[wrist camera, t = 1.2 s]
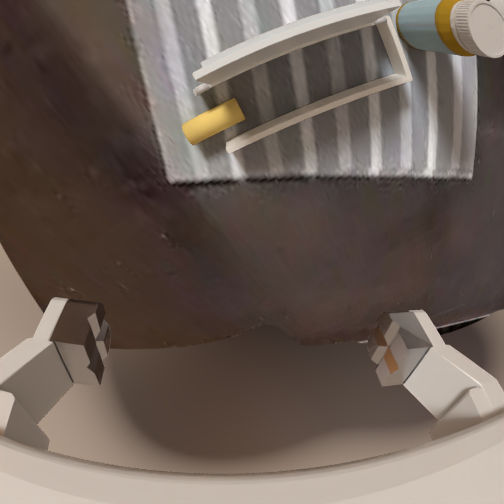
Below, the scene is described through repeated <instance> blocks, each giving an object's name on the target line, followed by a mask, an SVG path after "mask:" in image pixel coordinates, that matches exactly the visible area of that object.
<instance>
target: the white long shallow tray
mask: <svg viewBox="0 0 504 504" xmlns="http://www.w3.org/2000/svg"><path fill="white" fill-rule="evenodd" d="M373 25H376V26H377V28H378V31H379V33H380V36H381V38H382V41H383V43H384V46H385V49H386V51H387V54H388V57H389V59H390V62H391V65H392V68H393V71H394V74H392V75H389V76H386V77H383V78H379V79H376V80H373V81H370V82H368V83H365V84H362V85H359V86H356V87H353V88H350V89H348V90H345V91H342V92H340V93H337V94H334V95H332V96H329V97H326V98H324V99H321V100H319V101H316V102H314V103H311V104H309V105H306V106H304V107H301V108H299V109H296V110H294V111H292V112H289V113H287V114H285V115H282V116H280V117H278V118H275V119H273V120H271V121H269V122H266V123H264V124H262V125H260V126H257V127H255V128H253V129H251V130H249V131H247V132H245V133H242V134H240V135H238V136H236V137H234V138H232V139H230V140H228V141H226V150H227V152H228V154H229V153H232V152H234V151H236V150H238V149H240V148H242V147H244V146H246V145H248V144H251V143H253V142H255V141H257V140H259V139H261V138H264V137H266V136H268V135H270V134H273V133H275V132H277V131H279V130H282V129H284V128H286V127H289V126H291V125H293V124H296V123H298V122H300V121H303V120H305V119H308V118H310V117H313V116H315V115H317V114H320V113H322V112H325V111H328V110H330V109H333V108H335V107H338V106H340V105H343V104H346V103H348V102H351V101H354V100H356V99H359V98H362V97H365V96H368V95H370V94H373V93H376V92H379V91H382V90H385V89H388V88H391V87H394V86H397V85H400V84H403V83H406V82H409V81H413V80H412V76H411V73H410V70H409V67H408V64H407V61H406V58H405V55H404V52H403V49H402V47H401V44H400V41H399V38H398V36H397V33H396V31H395V28H394V26H393V23H392V21H391V18H390V16H383V17H381V18H380V19H378V20H376V21H375V22H373V23H370V24H366V25H362V26H359V27H355V28H352V29H348V30H345V31H342V32H339V33H335V34H332V35H329V36H326V37H323V38H320V39H317V40H314V41H312V42H309V43H306V44H303V45H300V46H298V47H295V48H292V49H290V50H287V51H285V52H282V53H280V54H277V55H275V56H272V57H270V58H267V59H265V60H263V61H260V62H258V63H256V64H253V65H251V66H249V67H247V68H245V69H242V70H240V71H238V72H236V73H234V74H232V75H229V76H227V77H225V78H223V79H221V80H219V81H217V82H215V83H213V84H211V85H209V84H206V83H204V84H202V85H200V86H198V87H196V88H195V89H194V90H193V92H194V93H195V95H199V94H201V93H203V92H205V91H207V90H209V89H210V88H212V87H214V86H216V85H218V84H220V83H222V82H224V81H226V80H228V79H230V78H232V77H234V76H236V75H238V74H241V73H243V72H245V71H247V70H249V69H252V68H254V67H256V66H258V65H261V64H263V63H265V62H268V61H270V60H273V59H275V58H277V57H280V56H282V55H285V54H287V53H290V52H293V51H295V50H298V49H301V48H303V47H306V46H309V45H312V44H314V43H317V42H320V41H323V40H326V39H329V38H332V37H335V36H338V35H342V34H345V33H348V32H351V31H355V30H358V29H362V28H365V27H369V26H373Z"/></svg>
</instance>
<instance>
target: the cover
mask: <svg viewBox="0 0 504 504" xmlns="http://www.w3.org/2000/svg"><path fill="white" fill-rule="evenodd" d="M400 6H402V5H401V3H400V1H399V0H391V1H387V0H366V1H362V2H358V3H354V4H350V5H346V6H343V7H339V8H336V9H332V10H329V11H325V12H322V13H319V14H316V15H313V16H310V17H307V18H304V19H301V20H298V21H295V22H292V23H289V24H287V25H284V26H281V27H279V28H276V29H273V30H271V31H268V32H266V33H263V34H261V35H258V36H256V37H254V38H251V39H249V40H247V41H244V42H242V43H240V44H238V45H235V46H233V47H231V48H229V49H227V50H225V51H223V52H220V53H218V54H216V55H214V56H212V57H210V58H208V59H206V60H204V61H202V62H200V63H201V65H202V67H203V68H201V69H199V70H197V71H195V72H193V73H192V74H193V76H194V78H195V80H197V81H200V82H203V83H206V84H209V85H211V84H213V83H215V82H217V81H219V80H221V79H223V78H225V77H227V76H229V75H232V74H234V73H236V72H238V71H240V70H242V69H245V68H247V67H249V66H251V65H253V64H256V63H258V62H260V61H263V60H265V59H267V58H270V57H272V56H275V55H277V54H280V53H282V52H285V51H287V50H290V49H292V48H295V47H298V46H300V45H303V44H306V43H309V42H312V41H314V40H317V39H320V38H323V37H326V36H329V35H332V34H335V33H339V32H342V31H345V30H348V29H352V28H355V27H359V26H362V25H366V24H370V23H373V22H375V21H376V20H378V19H380V18H381V17H383V16H385V15H386V14H388V13H390V12H391V11H393V10H395V9H396V8H398V7H400Z"/></svg>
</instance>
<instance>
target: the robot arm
mask: <svg viewBox="0 0 504 504" xmlns="http://www.w3.org/2000/svg"><path fill="white" fill-rule="evenodd" d="M490 2H491V3H492V4H494V5H495V6H496V7H497V8H498V9H499V10H500V11H501V12H502V14H503V15H504V0H490ZM104 317H105V309H104V305H103V304H102V303H98V302H90V301H82V300H74V299H65V298H58V297H55V298H53V299H52V300H51V301H50V303H49V305H48V307H47V309H46V311H45V313H44V315H43V317H42V320H41V322H40V323H39V326H38V328H37V330H36V332H35V334H34V337H33V338H27V339H26V340H25V341H23V342H22V343H20V344H19V345H18V346H16V347H15V348H14V349H12V350H11V351H10V352H8V353H7V354H5V355H4V356H3V357H2V358H0V504H504V392H503V390H502V388H501V386H500V385H499V383H498V381H497V380H496V379H495V378H494V377H493V376H491V375H490V374H488V373H487V372H486V371H484V370H483V369H482V368H480V367H479V366H478V365H476V364H475V363H473V362H472V361H471V360H469V359H468V358H467V357H465V356H464V355H462V354H461V353H459V352H458V351H457V350H455V349H454V348H453V347H451V346H450V345H445V343H444V342H443V340H442V338H441V336H440V335H439V333H438V331H437V330H436V328H435V326H434V325H433V323H432V322H431V320H430V318H429V317H428V315H427V314H426V312H424V311H423V310H412V311H393V312H383V313H382V314H381V315H380V316H379V318H378V320H377V322H378V325H379V326H378V327H376V328H375V329H374V330H372V332H371V334H370V336H369V338H368V353H369V355H370V358H371V359H372V360H373V361H374V362H375V363H376V364H377V367H376V373H377V375H378V378H379V380H380V383H381V385H382V386H391V385H398V384H404V386H405V387H406V388H407V389H408V390H409V391H410V392H411V393H412V394H413V395H414V396H415V397H416V398H417V399H418V400H419V401H420V402H421V403H422V404H423V405H424V406H425V407H426V408H427V409H428V410H429V411H430V412H431V413H432V414H433V415H434V416H435V417H436V418H437V419H438V420H439V421H438V422H437V423H436V424H435V425H434V426H433V427H432V428H431V429H430V432H429V433H430V435H431V438H432V441H430V442H427V443H424V444H421V445H417V446H414V447H410V448H407V449H403V450H400V451H396V452H392V453H388V454H384V455H380V456H376V457H371V458H367V459H362V460H357V461H352V462H346V463H341V464H335V465H329V466H322V467H316V468H308V469H299V470H289V471H279V472H265V473H245V474H244V473H241V474H203V473H181V472H167V471H156V470H146V469H138V468H130V467H123V466H117V465H110V464H105V463H99V462H94V461H89V460H84V459H79V458H75V457H71V456H66V455H63V454H59V453H55V452H51V451H48V445H49V438H48V437H47V435H46V434H45V433H44V432H43V431H42V430H41V428H40V427H39V426H38V425H37V424H38V423H39V422H40V421H41V419H42V418H43V417H44V416H45V415H46V414H47V413H48V412H49V411H50V409H51V408H52V407H53V406H54V405H55V404H56V403H57V402H58V401H59V400H60V399H61V397H63V395H64V394H65V393H66V392H67V391H68V390H69V389H70V388H71V387H72V386H73V383H76V384H84V385H92V386H99V387H100V385H101V381H102V377H103V372H104V365H103V362H102V360H103V359H104V358H105V357H107V356H108V352H109V348H110V329H109V325H108V323H106V322H105V321H104Z"/></svg>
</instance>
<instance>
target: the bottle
mask: <svg viewBox="0 0 504 504" xmlns="http://www.w3.org/2000/svg"><path fill="white" fill-rule="evenodd" d="M396 25H397V29H398V32H399V34H400V35H401V37H402V38H403V40H404V41H405V42H406V43H407V44H408V45H410V46H412V47H413V48H416V49H420V50H426V51H434V52H441V53H448V54H454V55H460V56H474V55H476V54H477V55H480V56H485V57H490V58H498V57H501V56H503V55H504V15H503V14H502V12H501V11H500V10H499V9H498V8H497V7H496V6H495V5H494V4H492V3H491V2H489V1H486V0H420V1H413V2H408V3H406V4H404V5H402V6H401V7H400V9H399V10H398V12H397V15H396Z"/></svg>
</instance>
